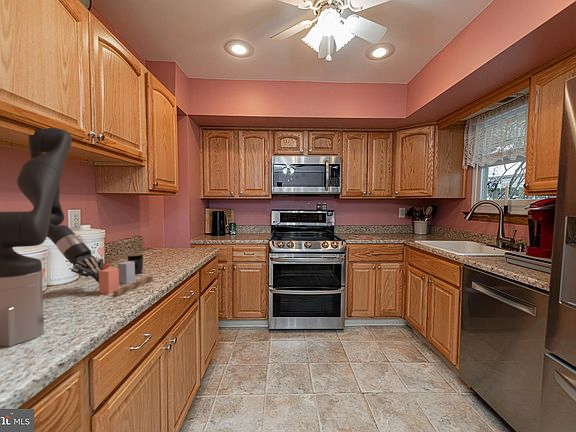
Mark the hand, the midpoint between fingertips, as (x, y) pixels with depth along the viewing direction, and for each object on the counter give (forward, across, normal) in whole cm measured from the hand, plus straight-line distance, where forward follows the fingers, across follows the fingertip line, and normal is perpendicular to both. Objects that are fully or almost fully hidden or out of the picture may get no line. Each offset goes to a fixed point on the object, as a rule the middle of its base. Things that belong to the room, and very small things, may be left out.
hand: (102, 281), depth 102 cm
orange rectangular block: (+5, 0, +1) cm, 5 cm away
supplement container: (0, +26, +8) cm, 27 cm away
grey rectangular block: (+3, +12, +2) cm, 13 cm away
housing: (+6, +6, +2) cm, 9 cm away
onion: (-10, +20, +17) cm, 28 cm away
